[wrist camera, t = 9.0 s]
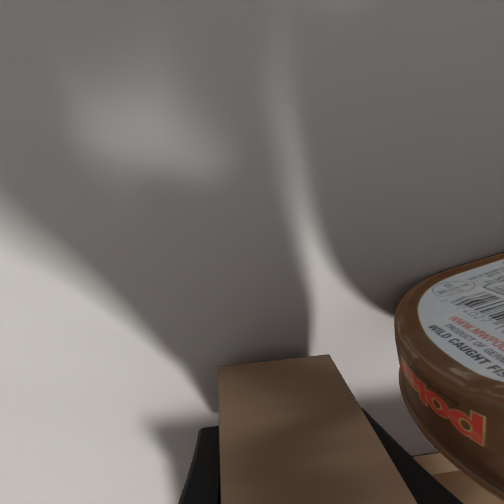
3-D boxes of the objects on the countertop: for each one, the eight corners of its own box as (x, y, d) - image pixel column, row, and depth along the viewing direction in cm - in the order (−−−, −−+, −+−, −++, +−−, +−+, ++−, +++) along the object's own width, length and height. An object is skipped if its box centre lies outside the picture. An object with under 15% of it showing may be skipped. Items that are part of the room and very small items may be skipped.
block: (329, 354, 11) (421, 510, 6) (324, 438, 12) (397, 623, 7) (217, 366, 10) (222, 546, 6) (224, 452, 11) (232, 659, 7)
